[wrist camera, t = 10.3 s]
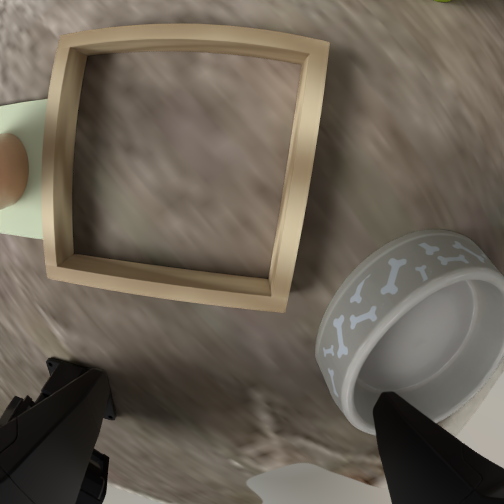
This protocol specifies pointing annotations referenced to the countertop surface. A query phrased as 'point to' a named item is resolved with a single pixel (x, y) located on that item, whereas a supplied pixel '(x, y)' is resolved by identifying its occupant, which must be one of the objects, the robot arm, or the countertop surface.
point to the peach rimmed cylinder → (12, 169)
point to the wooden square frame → (159, 277)
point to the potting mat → (31, 135)
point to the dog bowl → (414, 327)
